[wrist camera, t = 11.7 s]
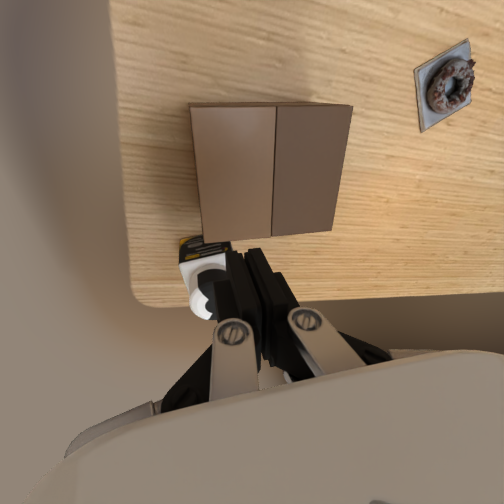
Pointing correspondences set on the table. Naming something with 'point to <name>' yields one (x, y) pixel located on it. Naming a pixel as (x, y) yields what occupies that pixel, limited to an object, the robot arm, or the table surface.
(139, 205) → the table surface
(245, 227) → the front flap
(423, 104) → the donut
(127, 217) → the table surface
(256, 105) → the carton
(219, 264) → the medicine bottle
